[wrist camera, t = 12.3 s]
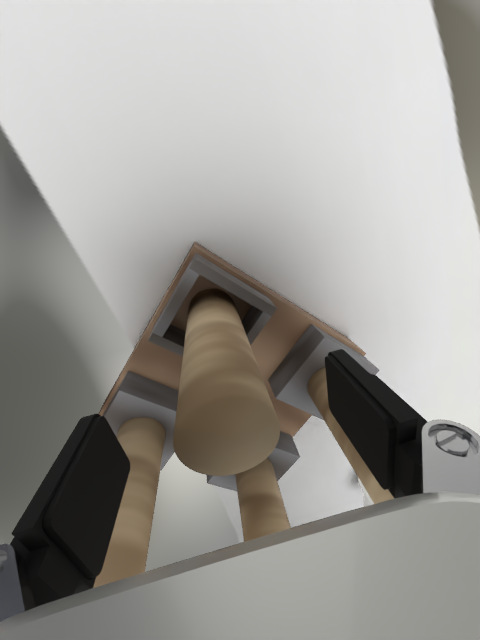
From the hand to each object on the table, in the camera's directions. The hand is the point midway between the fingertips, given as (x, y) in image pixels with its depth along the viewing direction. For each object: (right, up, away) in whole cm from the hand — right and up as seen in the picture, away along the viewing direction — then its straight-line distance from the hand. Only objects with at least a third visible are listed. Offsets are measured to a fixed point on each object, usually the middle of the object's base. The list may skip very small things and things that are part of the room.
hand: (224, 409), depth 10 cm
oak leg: (-1, +4, +9) cm, 10 cm away
